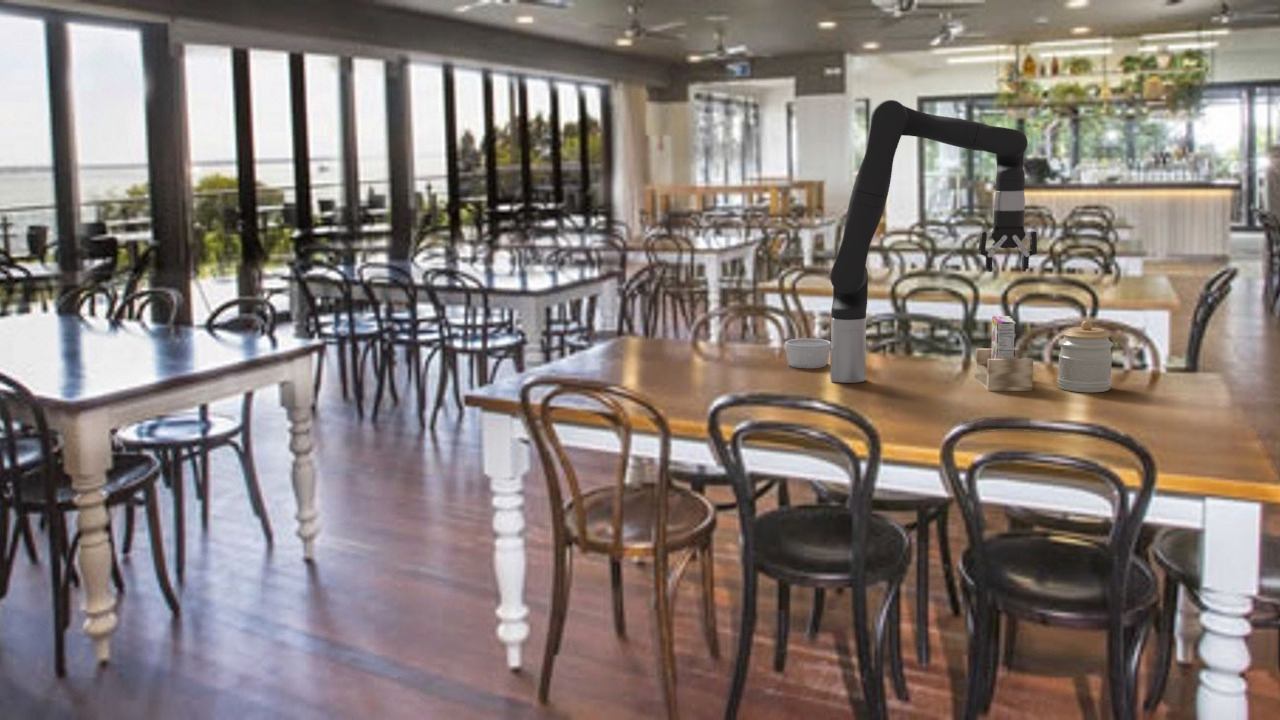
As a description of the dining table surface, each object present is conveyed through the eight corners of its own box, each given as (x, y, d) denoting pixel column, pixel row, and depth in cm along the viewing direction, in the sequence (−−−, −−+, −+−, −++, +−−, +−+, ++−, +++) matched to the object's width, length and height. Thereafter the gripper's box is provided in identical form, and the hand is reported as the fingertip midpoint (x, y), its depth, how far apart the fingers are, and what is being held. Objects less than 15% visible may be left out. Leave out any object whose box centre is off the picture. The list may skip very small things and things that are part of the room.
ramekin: (833, 369, 329) (834, 345, 327) (787, 369, 329) (788, 345, 328) (827, 361, 342) (827, 338, 340) (782, 361, 342) (782, 338, 341)
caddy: (988, 390, 294) (989, 360, 293) (974, 377, 312) (975, 348, 310) (1032, 390, 293) (1033, 360, 292) (1016, 377, 311) (1017, 348, 309)
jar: (1070, 381, 304) (1073, 315, 301) (1119, 387, 295) (1123, 319, 292) (1048, 389, 295) (1050, 321, 292) (1097, 395, 286) (1101, 325, 283)
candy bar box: (989, 376, 308) (991, 315, 305) (1008, 376, 307) (1011, 315, 304) (994, 384, 297) (996, 321, 294) (1014, 384, 296) (1017, 321, 293)
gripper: (983, 209, 291) (981, 273, 294) (1041, 208, 290) (1038, 272, 293) (978, 208, 299) (976, 270, 302) (1034, 207, 297) (1031, 269, 300)
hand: (1006, 271), depth 297 cm, fingers open, 8 cm apart
